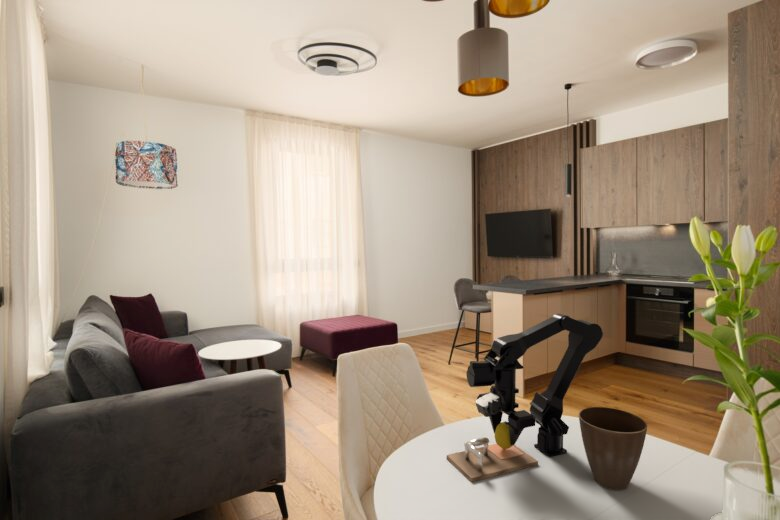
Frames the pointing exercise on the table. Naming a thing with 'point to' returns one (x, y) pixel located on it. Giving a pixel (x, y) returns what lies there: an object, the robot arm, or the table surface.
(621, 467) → the plant pot
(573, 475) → the table surface
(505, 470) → the walnut board
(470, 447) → the bent wire
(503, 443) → the lemon
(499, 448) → the terracotta tile
